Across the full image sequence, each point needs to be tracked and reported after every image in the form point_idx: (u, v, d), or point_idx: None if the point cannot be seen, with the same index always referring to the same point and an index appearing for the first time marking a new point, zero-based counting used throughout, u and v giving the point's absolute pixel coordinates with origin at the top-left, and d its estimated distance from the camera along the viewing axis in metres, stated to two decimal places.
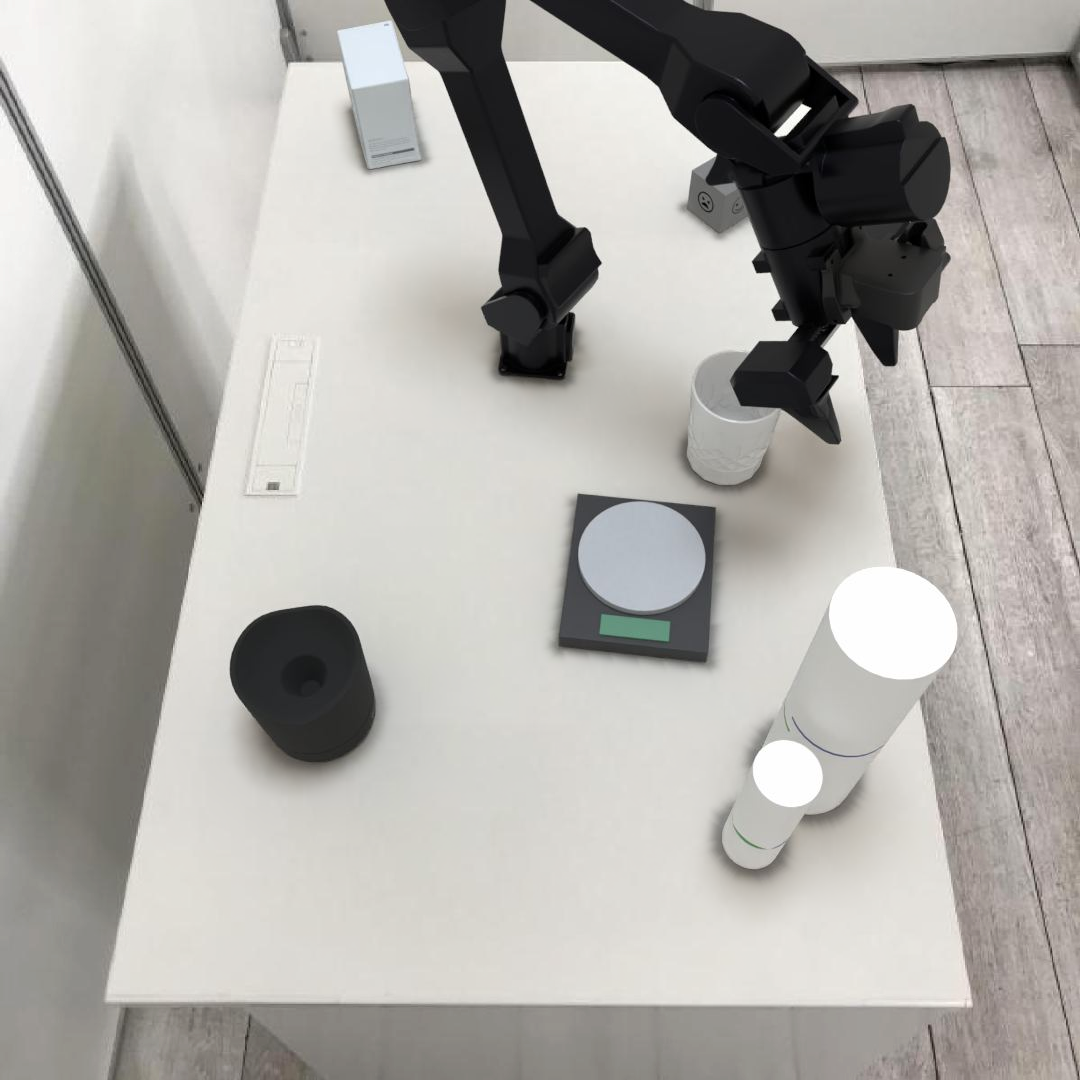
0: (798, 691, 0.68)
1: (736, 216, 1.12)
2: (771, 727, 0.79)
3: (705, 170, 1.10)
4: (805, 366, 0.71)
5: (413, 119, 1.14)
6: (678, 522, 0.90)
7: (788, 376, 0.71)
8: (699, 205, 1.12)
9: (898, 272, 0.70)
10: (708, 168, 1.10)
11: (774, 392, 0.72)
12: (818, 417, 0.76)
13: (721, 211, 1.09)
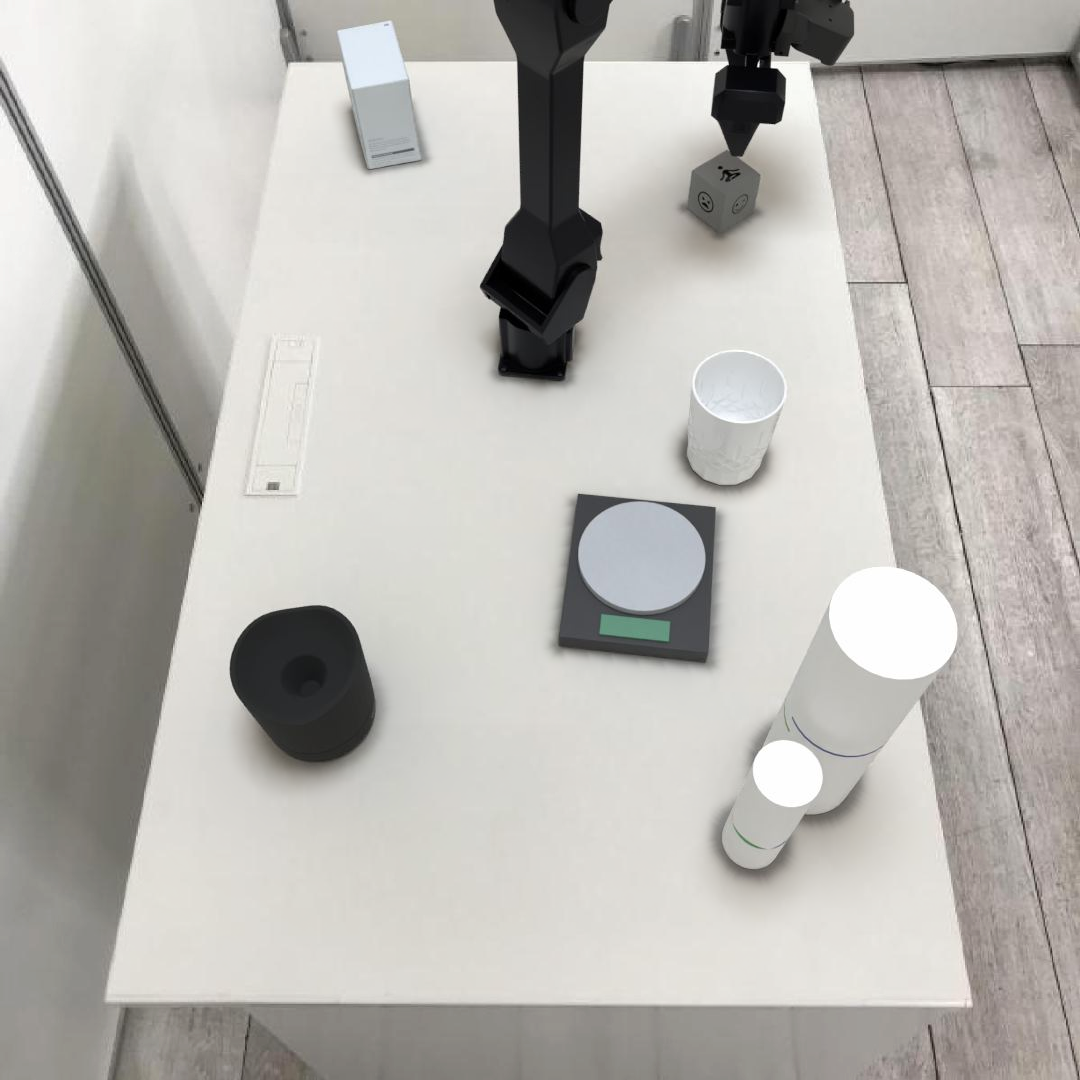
0: (798, 691, 0.68)
1: (736, 216, 1.12)
2: (771, 727, 0.79)
3: (705, 170, 1.10)
4: (781, 89, 0.92)
5: (413, 119, 1.14)
6: (678, 522, 0.90)
7: (776, 96, 0.91)
8: (699, 205, 1.12)
9: (834, 18, 0.93)
10: (708, 168, 1.10)
11: (757, 109, 0.92)
12: (747, 133, 0.98)
13: (721, 211, 1.09)
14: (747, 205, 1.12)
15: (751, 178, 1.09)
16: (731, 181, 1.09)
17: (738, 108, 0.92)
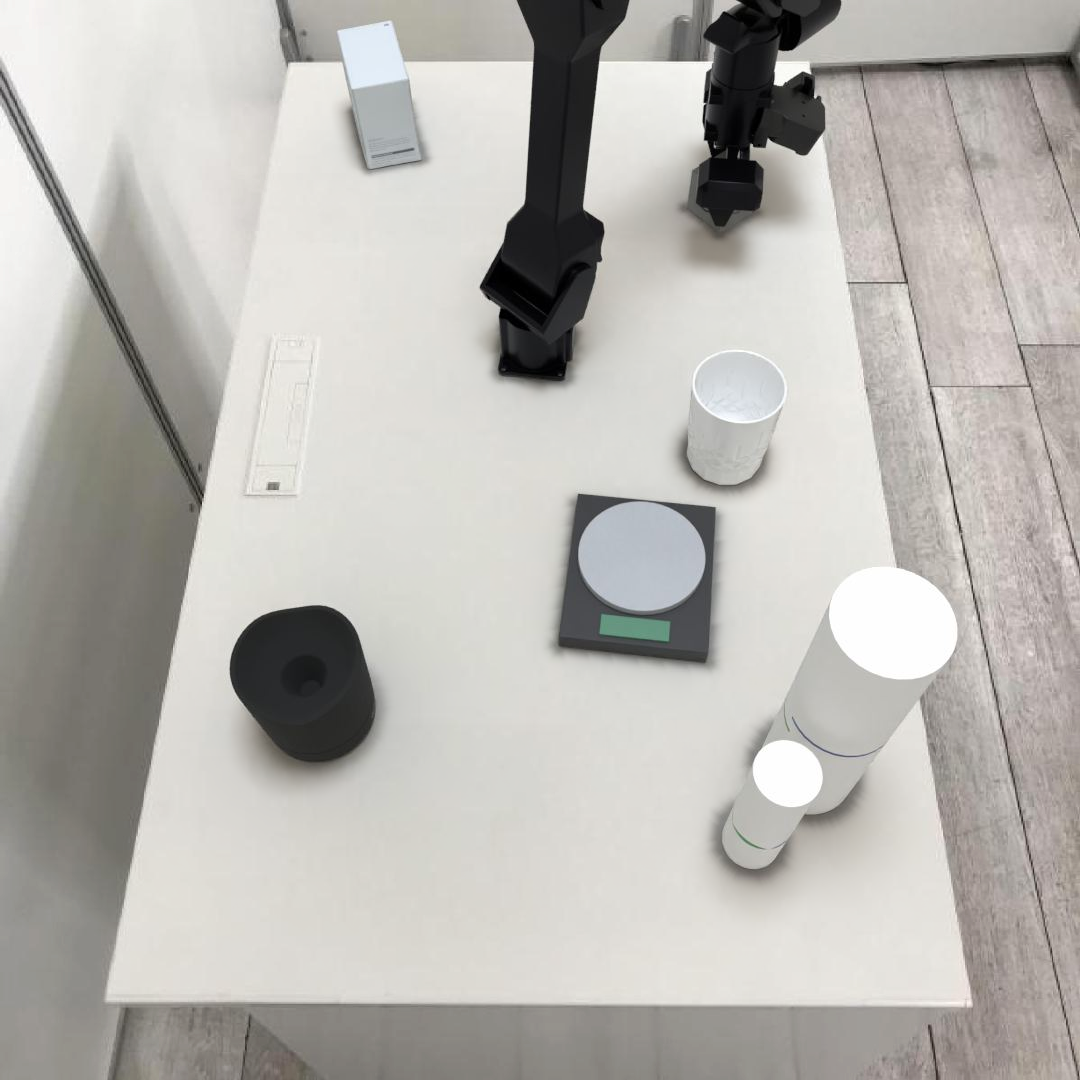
0: (798, 691, 0.68)
1: (736, 216, 1.12)
2: (771, 727, 0.79)
3: None
4: (759, 179, 1.00)
5: (413, 119, 1.14)
6: (678, 522, 0.90)
7: (754, 187, 1.00)
8: None
9: (806, 114, 1.02)
10: None
11: (738, 198, 1.00)
12: None
13: None
14: None
15: None
16: None
17: (720, 197, 1.01)
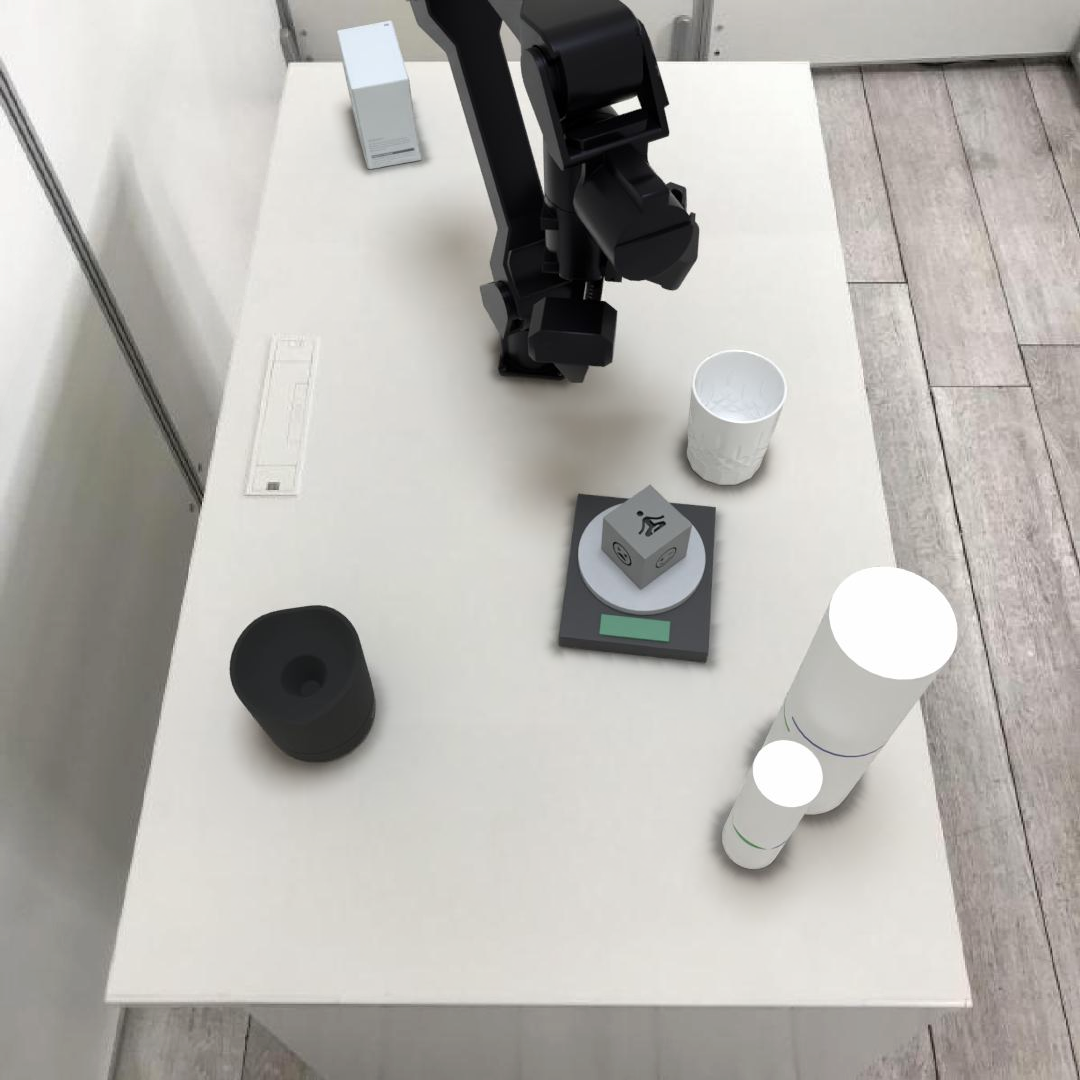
0: (798, 691, 0.68)
1: (662, 568, 0.87)
2: (771, 727, 0.79)
3: (620, 517, 0.85)
4: (609, 327, 0.76)
5: (413, 119, 1.14)
6: None
7: (600, 338, 0.76)
8: (615, 553, 0.87)
9: None
10: (624, 514, 0.85)
11: (581, 352, 0.76)
12: None
13: (641, 571, 0.85)
14: (676, 554, 0.87)
15: (679, 531, 0.84)
16: (653, 535, 0.84)
17: (558, 350, 0.77)
